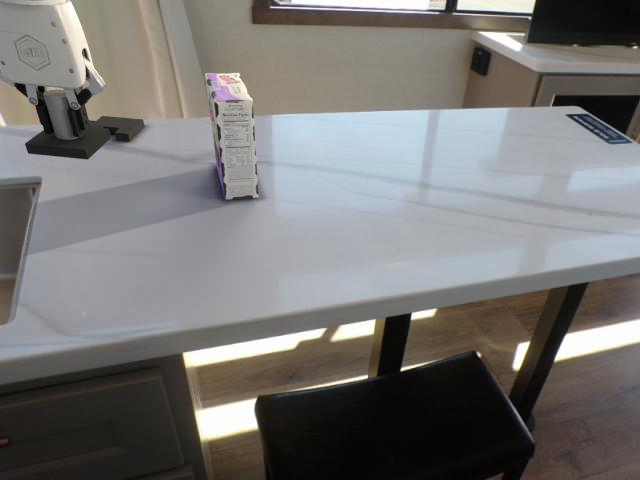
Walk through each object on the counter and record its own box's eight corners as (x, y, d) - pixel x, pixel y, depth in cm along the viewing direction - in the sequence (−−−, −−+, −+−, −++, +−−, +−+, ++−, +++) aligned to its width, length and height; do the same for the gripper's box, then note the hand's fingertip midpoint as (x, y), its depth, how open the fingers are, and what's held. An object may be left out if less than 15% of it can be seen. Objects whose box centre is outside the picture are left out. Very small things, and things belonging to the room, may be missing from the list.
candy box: (215, 165, 95) (203, 71, 85) (248, 163, 97) (240, 71, 87) (224, 201, 85) (212, 99, 75) (260, 198, 87) (253, 98, 77)
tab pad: (27, 153, 72) (9, 99, 67) (63, 126, 80) (49, 76, 76) (88, 159, 73) (73, 106, 68) (117, 132, 81) (106, 82, 76)
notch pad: (86, 137, 99) (84, 129, 98) (104, 122, 105) (102, 115, 104) (129, 141, 100) (128, 133, 99) (144, 126, 106) (143, 119, 105)
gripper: (-68, -20, 59) (-9, 136, 71) (83, -1, 61) (117, 149, 72) (-27, -29, 65) (21, 116, 77) (109, -11, 67) (137, 129, 78)
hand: (67, 131), depth 74 cm, fingers closed on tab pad, 3 cm apart
